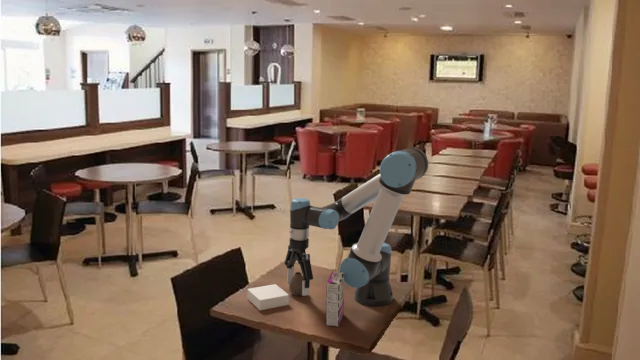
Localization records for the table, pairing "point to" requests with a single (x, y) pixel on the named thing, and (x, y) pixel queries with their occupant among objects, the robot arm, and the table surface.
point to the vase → (296, 284)
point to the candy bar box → (335, 299)
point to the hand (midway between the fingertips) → (297, 289)
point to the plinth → (267, 297)
